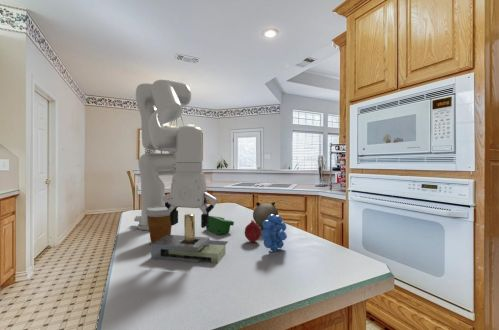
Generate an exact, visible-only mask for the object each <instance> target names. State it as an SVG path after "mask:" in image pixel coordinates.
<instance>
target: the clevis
mask: <svg viewBox="0 0 499 330" xmlns="http://www.w3.org/2000/svg"><path fill="white" fill-rule="evenodd" d="M210 240H211V237H207V236H206V237H205V236H195V244H185V235H179V234H178V235H177V234H171V235H166V236H164V237H162V238H161V239H159V240H157V241H155V242H154V243H152V244H151V243H150V254H151V255H150V257H151V258H150V259H152V260H160V261H161V260H162V261H172V262H179V263H181V262H183V263H193V264H199V263H200V262H201V261H202V259H204V258H210V263H211V264H219V263H220V261H221V260H222V259H223V258H224V256H225V255H226V245H227V244H226V245H214V244H207V243H208V242H210Z"/></svg>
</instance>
